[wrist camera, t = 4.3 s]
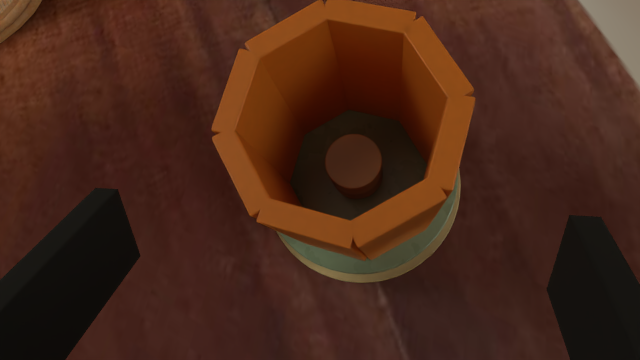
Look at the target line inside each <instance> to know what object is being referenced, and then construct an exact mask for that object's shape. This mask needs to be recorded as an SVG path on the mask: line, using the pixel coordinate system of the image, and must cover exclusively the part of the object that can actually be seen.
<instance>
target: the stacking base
mask: <svg viewBox="0 0 640 360" xmlns="http://www.w3.org/2000/svg"><path fill="white" fill-rule="evenodd" d="M426 167H427V164H426V162H425V161H424V159H423V157H422V156H421V154H420V153H419V151H418V150H417V148H416V146H415V145H414V143H413V142H412V140H411V139H410V137H409V135H408V134H407V132H406V131H405V129H404V128H403V126H402V124H401V123H400V121H397V120H393V119H388V118H384V117H379V116H375V115H370V114H366V113H362V112H357V111H353V110H347V111H345V112H344V113H342V114H340V115H338V116H337V117H335V118H333V119H331V120H330V121H328V122H326V123H324V124H323V125H321V126H319V127H317V128H315V129H314V130H312V131H310V132H308V133H307V134H305V136H304V139H303V142H302V145H301V148H300V152H299V155H298V158H297V161H296V164H295V168H294V171H293V174H292V177H291V181H290V184H291V186H292V188H293V190H294V192H295V194H296V196H297V198H298V199H299V201H300V203H301V205H302V207H304V208H308V209H311V210H315V211H318V212H322V213H326V214H329V215H333V216H336V217H340V218H344V219H347V220H353V219H354V218H356V217H358V216H360V215H362V214H363V213H365V212H367V211H369V210H370V209H372V208H374V207H376V206H378V205H379V204H381V203H383V202H385V201H386V200H388V199H390V198H392V197H394V196H395V195H397V194H399V193H401V192H402V191H404V190H406V189H408V188H410V187H411V186H413V185H415V184H417V183H418V182H420V181H422V180H423V178H424V174H425V171H426ZM460 187H461V182H460V172H459V170H458V174H457V178H456V182H455V186H454V190H453V191H452V193H451V194H450V196H449V197H448V199H447V200H446V201H445V203H444V204H443V206H442V207H441V209H440V210H439V212H438V213H437V215H436V216H435V218H434V219H433V221H432V222H431V224H430V225H429V226H428V227H427V229H426V230H425V231H423V232H421V233H420V234H418V235H416V236H414V237H412V238H411V239H409V240H407V241H405V242H403V243H402V244H400V245H398V246H396V247H394V248H393V249H391V250H389V251H387V252H386V253H384V254H382V255H380V256H378V257H377V258H375V259H373V260H370V259H369V258H368V257H367V258H366V261H362V260H359V259H355V258H352V257H348V256H345V255H342V254H338V253H335V252H331V251H328V250H325V249H321V248H318V247H314V246H311V245H308V244H305V243H303V242H300V241H298V240H296V239H294V238H291V237H289V236H287V235H284V234H282V233H280V232H278V231H276V232H277V234H278V235H279V237H280V239H281V240H282V242H283V243H284V244H285V246H286V247H287V248H288V249H289V251H290V252H291V253H292V254H293V255H294V256H295V257H296V258H297V259H299V260H300V261H301V262H302V263H304V264H305V265H307V266H308V267H309V268H311V269H313V270H315V271H316V272H318V273H320V274H322V275H325V276H328V277H330V278H333V279H337V280H341V281H346V282H356V283H368V282H379V281H385V280H389V279H392V278H395V277H398V276H400V275H402V274H404V273H407V272H409V271H410V270H412V269H413V268H415V267H417V266H418V265H420V264H421V263H423V262H424V261H425V260H426V259H427V258H428V257H429V256H431V255H432V254H433V253H434V252H435V250H436V249H437V248H438V247H439V246H440V245H441V243H442V242H443V240H444V239H445V237H446V236H447V234H448V233H449V231H450V229H451V227H452V224H453V222H454V220H455V217H456V214H457V210H458V206H459V200H460Z"/></svg>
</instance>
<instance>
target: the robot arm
mask: <svg viewBox="0 0 640 360" xmlns="http://www.w3.org/2000/svg"><path fill="white" fill-rule="evenodd" d="M139 257H140V253H139V250H138V247H137V244H136V241H135V238H134V236H133V233H132V230H131V227H130V224H129V221H128V218H127V215H126V212H125V209H124V206H123V203H122V201H121V198H120V195H119V192H118V189H104V188H95V189H94V190H93V191H92V192H91V193H90V194H89V195H88V196H87V197H86V198H85V199H84V200H82V201H81V202H80V203H79V204H78V205H77V206H76V207H75V208H74V209H73V210H72V211H71V212H70V213H69V214H68V215H67V216H66V217H65V218H64V219H63V220H62V221H61V222H60V223H59V224H58V225H57V226H56V227H55V228H54V229H52V230H51V231H50V232H49V233H48V234H47V235H46V236H45V237H44V238H43V239H42V240H41V241H40V242H39V243H38V244H37V245H36V246H35V247H34V248H33V249H32V250H31V251H30V252H29V253H28V254H27V255H26V256H25V257H24V258H22V259H21V260H20V261H19V262H18V263H17V264H16V265H15V266H14V267H13V268H12V269H11V270H10V271H9V272H8V273H7V274H6V275H5V276H4V277H3V278H2V279H1V280H0V360H65V359H66V358H67V356H68V355H69V354H70V352H71V351H72V350H73V348H74V347H75V345H76V344H77V343H78V341H79V340H80V339H81V337H82V336H83V334H84V333H85V332H86V330H87V329H88V327H89V326H90V325H91V323H92V322H93V321H94V319H95V318H96V316H97V315H98V314H99V312H100V311H101V310H102V308H103V307H104V305H105V304H106V303H107V301H108V300H109V299H110V297H111V296H112V294H113V293H114V292H115V290H116V289H117V287H118V286H119V285H120V283H121V282H122V281H123V279H124V278H125V276H126V275H127V274H128V272H129V271H130V270H131V268H132V267H133V265H134V264H135V263H136V261H137V260H138V258H139ZM547 292H548V295H549V298H550V301H551V304H552V307H553V310H554V312H555V315H556V318H557V321H558V324H559V327H560V330H561V333H562V336H563V339H564V342H565V345H566V348H567V351H568V354H569V357H570V360H640V284H639V283H638V281H637V279H636V277H635V276H634V274H633V272H632V270H631V269H630V267H629V265H628V263H627V262H626V260H625V258H624V256H623V255H622V253H621V251H620V249H619V248H618V246H617V244H616V242H615V241H614V239H613V237H612V235H611V234H610V232H609V230H608V228H607V227H606V225H605V223H604V221H603V220H602V218H601V217H593V216H576V215H569V219H568V222H567V225H566V228H565V232H564V235H563V238H562V241H561V245H560V248H559V251H558V254H557V258H556V261H555V264H554V267H553V270H552V274H551V277H550V280H549V283H548V287H547Z"/></svg>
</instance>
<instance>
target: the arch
mask: <svg viewBox="0 0 640 360" xmlns="http://www.w3.org/2000/svg"><path fill="white" fill-rule="evenodd" d="M41 1H42V0H0V43H1V42H3V41H4V40H5V39H7V38H8V37H9V36H11V35H12V34H13V33H14V32H16V31H17V30H18V29H20V28H21V27H22V26H23V24H24V23H25V22H26V21H27V20H28V19H29V18H30V17H31V16H32V15H33V14H34V13H35V11H36V9H37V8H38V6H39V5H40V3H41Z"/></svg>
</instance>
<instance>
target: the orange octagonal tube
mask: <svg viewBox="0 0 640 360" xmlns="http://www.w3.org/2000/svg"><path fill="white" fill-rule="evenodd" d="M245 46H246V48H247V50H244V49H239V51H238V53H237V56H236V59H235V62H234V65H233V68H232V71H231V74H230V76H229V79H228V82H227V85H226V88H225V91H224V94H223V97H222V99H221V102H220V105H219V108H218V111H217V114H216V117H215V119H214V122H213V125H212V128H211V130H212V131H213V132H214V133H215V134H216V135H215V136H213V137H212V141H213V143H214V145H215V147H216V149H217V151H218V153H219V155H220V157H221V159H222V161H223V163H224V165H225V167H226V169H227V171H228V173H229V175H230V177H231V179H232V181H233V183H234V185H235V187H236V189H237V191H238V193H239V195H240V197H241V199H242V201H243V203H244V205H245V207H246V209H247V211H248V213H249V215H250V216H251V217H253V218H256V219H257V222H258V223H260V224H262V225H264V226H266V227H269V228H271V229H273V230H275V231H278V232H280V233H282V234H284V235H287V236H289V237H291V238H294V239H296V240H298V241H300V242H303V243H305V244H308V245H311V246H314V247H318V248H321V249H325V250H328V251H331V252H335V253H338V254H342V255H345V256H348V257H352V258H355V259H359V260H362V261H366V258H367V257H368V258H369V259H370V260H373V259H375V258H377V257H378V256H380V255H382V254H384V253H386V252H387V251H389V250H391V249H393V248H394V247H396V246H398V245H400V244H402V243H403V242H405V241H407V240H409V239H411V238H412V237H414V236H416V235H418V234H420V233H421V232H423V231H425V230H426V229H427V227H428V226H429V225H430V224H431V222H432V221H433V219H434V218H435V216H436V215H437V213H438V212H439V210H440V209H441V207H442V206H443V204H444V203H445V201H446V200H447V199H448V197H449V196H450V194H451V193H452V191H453V190H454V186H455V182H456V178H457V174H458V170H459V166H460V162H461V158H462V153H463V149H464V145H465V141H466V137H467V133H468V129H469V125H470V121H471V117H472V113H473V109H474V105H475V101H476V99H475V98H474V97H471V96H472V94H473V92H474V88H473V87H472V85H471V84H470V83H469V81H468V80H467V78H466V77H465V75H464V74H463V73H462V71H461V70H460V68H459V67H458V66H457V64H456V63H455V61H454V60H453V58H452V57H451V56H450V54H449V53H448V51H447V50H446V49H445V47H444V46H443V44H442V43H441V41H440V40H439V39H438V37H437V36H436V34H435V33H434V31H433V30H432V29H431V27H430V26H429V24H428V23H427V22H426V20H425V19H424V17H420V18H418V19H417V20H416V12H413V11H407V10H402V9H396V8H390V7H384V6H379V5H373V4H367V3H362V2H356V1H350V0H327V1H326V4H324V3H323V1H322V0H318V1H316V2H314V3H312V4H311V5H309V6H307V7H305V8H304V9H302V10H300V11H299V12H297V13H295V14H293V15H292V16H290V17H288V18H286V19H285V20H283V21H281V22H280V23H278V24H276V25H274V26H273V27H271V28H269V29H267V30H266V31H264V32H262V33H260V34H259V35H257V36H255V37H254V38H252V39H250V40H248V41H247V42H246V43H245ZM347 110H353V111H357V112H362V113H366V114H370V115H375V116H379V117H384V118H388V119H393V120H397V121H400V123H401V124H402V126H403V128H404V129H405V131H406V132H407V134H408V135H409V137H410V139H411V140H412V142H413V143H414V145H415V146H416V148H417V150H418V151H419V153H420V154H421V156H422V157H423V159H424V161H425V162H426V164H427V167H426V171H425V174H424V178H423V180H422V181H420V182H418V183H417V184H415V185H413V186H411V187H410V188H408V189H406V190H404V191H402V192H401V193H399V194H397V195H395V196H394V197H392V198H390V199H388V200H386V201H385V202H383V203H381V204H379V205H378V206H376V207H374V208H372V209H370V210H369V211H367V212H365V213H363V214H362V215H360V216H358V217H356V218H354V219H353V220H347V219H344V218H340V217H336V216H333V215H329V214H326V213H322V212H318V211H315V210H311V209H308V208H304V207H302V205H301V203H300V201H299V199H298V198H297V196H296V194H295V192H294V190H293V188H292V186H291V184H290V181H291V177H292V174H293V171H294V168H295V164H296V161H297V158H298V155H299V152H300V148H301V145H302V142H303V139H304V136H305V134H307V133H308V132H310V131H312V130H314V129H315V128H317V127H319V126H321V125H323V124H324V123H326V122H328V121H330V120H331V119H333V118H335V117H337V116H338V115H340V114H342V113H344V112H345V111H347Z"/></svg>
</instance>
